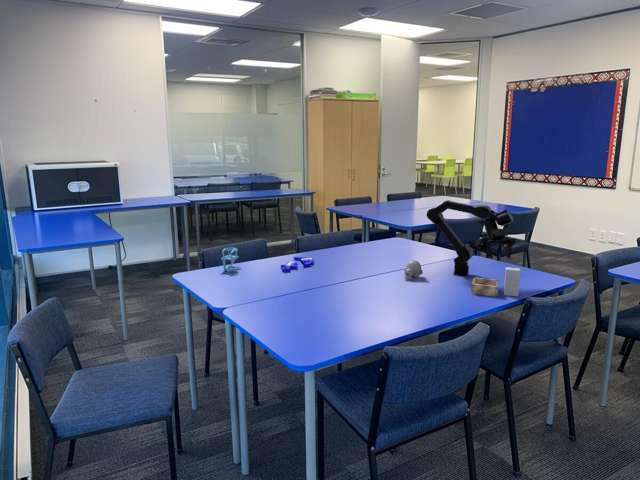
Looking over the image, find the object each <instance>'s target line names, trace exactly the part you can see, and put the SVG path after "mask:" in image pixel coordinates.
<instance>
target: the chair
mask: <svg viewBox="0 0 640 480" xmlns="http://www.w3.org/2000/svg"><path fill="white" fill-rule="evenodd" d="M225 251H227V255H225ZM234 253H235V254H234ZM221 254H222V257H221V258H220V259H221V260H222V266H223V272H227V273H231V272H234V271H238V270H240V269H241V268H242V267H241V266H235V265H233V264H234V262H235V261H236V260H237V259H238V258H239V255H238V248H237V247H234V246H229V247H225V248H224V249H223V250H222V251H221ZM233 254H234V255H233ZM227 260H228V261H231V262H230V265H226V261H227Z"/></svg>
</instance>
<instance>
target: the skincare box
mask: <svg viewBox="0 0 640 480" xmlns="http://www.w3.org/2000/svg"><path fill="white" fill-rule="evenodd" d="M521 271H522V270H521V268H520V267H518V268H517V267H506V266H505V272H504V283H503V284H504V285H503V295H504V296H509V297H519V294H520V284H521V283H520V281H521Z"/></svg>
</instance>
